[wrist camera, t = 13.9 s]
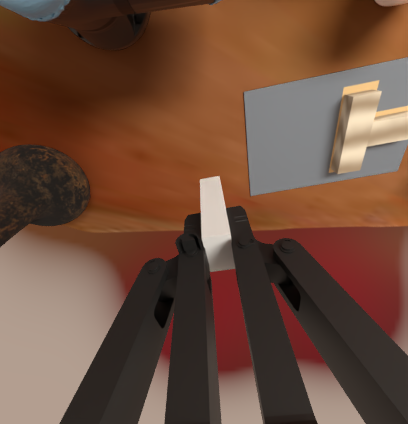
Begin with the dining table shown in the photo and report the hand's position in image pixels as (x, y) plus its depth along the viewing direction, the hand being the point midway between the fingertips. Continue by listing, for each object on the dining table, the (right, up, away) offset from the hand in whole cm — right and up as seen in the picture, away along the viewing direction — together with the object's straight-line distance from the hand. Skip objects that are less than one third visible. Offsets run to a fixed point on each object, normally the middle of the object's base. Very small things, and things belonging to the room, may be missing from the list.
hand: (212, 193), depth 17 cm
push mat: (+27, +15, +30) cm, 43 cm away
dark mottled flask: (-35, +8, +34) cm, 49 cm away
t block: (+36, +17, +29) cm, 49 cm away
